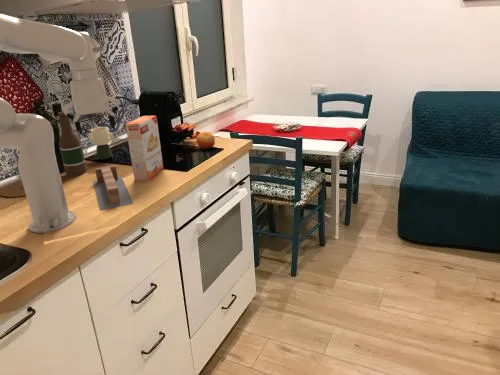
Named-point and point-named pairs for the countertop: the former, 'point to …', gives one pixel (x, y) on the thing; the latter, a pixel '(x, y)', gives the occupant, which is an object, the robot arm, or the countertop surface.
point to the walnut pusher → (109, 182)
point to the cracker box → (144, 147)
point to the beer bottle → (71, 148)
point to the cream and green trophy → (101, 141)
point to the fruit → (205, 140)
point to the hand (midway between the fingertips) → (96, 130)
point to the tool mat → (104, 199)
